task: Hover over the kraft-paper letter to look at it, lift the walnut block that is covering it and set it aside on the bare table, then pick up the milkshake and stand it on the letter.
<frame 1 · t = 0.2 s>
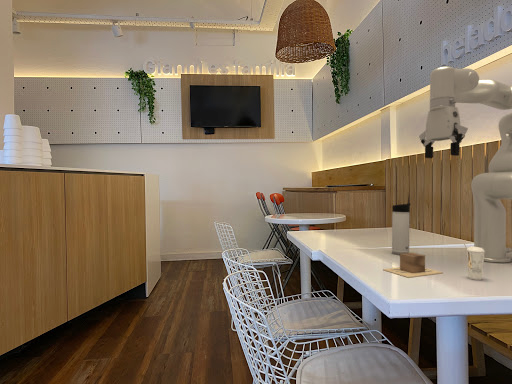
hand: (441, 156, 113), 36 cm above the table, tool pointing down, fingers open, 9 cm apart
travel mug: (401, 254, 133), on the table
milkshake: (473, 279, 96), on the table
walnut block: (412, 270, 104), resting on letter
letter: (412, 271, 104), on the table
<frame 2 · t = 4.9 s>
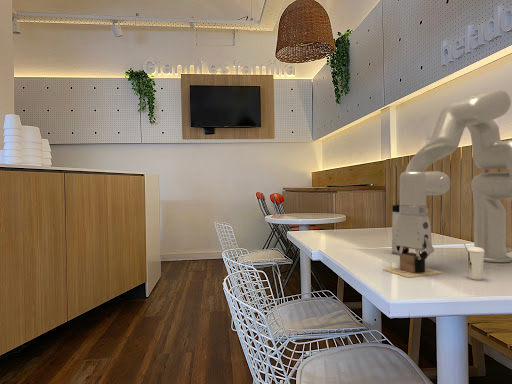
hand: (412, 269, 104), 1 cm above the table, tool pointing down, fingers closed on walnut block, 5 cm apart
walnut block: (412, 270, 104), resting on letter, touching gripper
everything else where it was.
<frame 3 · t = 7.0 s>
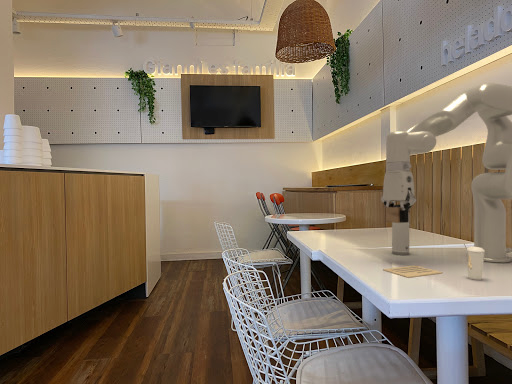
hand: (397, 220, 115), 15 cm above the table, tool pointing down, fingers closed on walnut block, 5 cm apart
walnut block: (397, 221, 115), point 14 cm above the table, touching gripper
everything else where it was.
when the fingers open (2 cm above the table, at t = 9.3 s): walnut block drops 1 cm, on the table.
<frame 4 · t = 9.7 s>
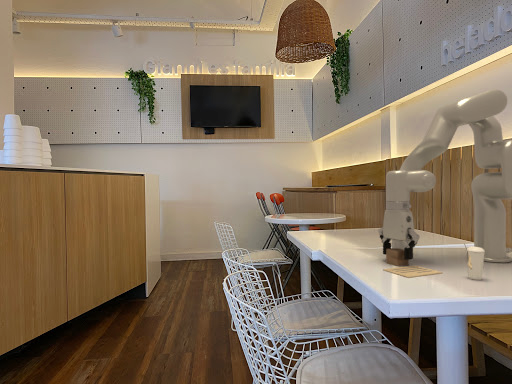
hand: (397, 256, 115), 2 cm above the table, tool pointing down, fingers open, 9 cm apart
walnut block: (397, 264, 115), on the table
everything else where it was.
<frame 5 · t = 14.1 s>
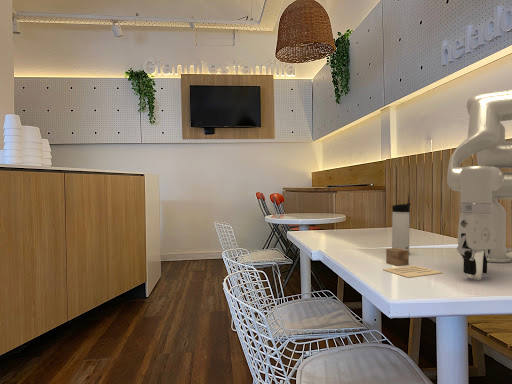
hand: (475, 272, 96), 2 cm above the table, tool pointing down, fingers closed on milkshake, 4 cm apart
milkshake: (473, 279, 96), on the table, touching gripper
everything else where it was.
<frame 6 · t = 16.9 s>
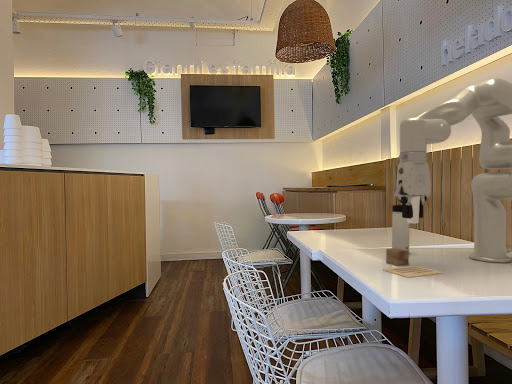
hand: (412, 217, 104), 17 cm above the table, tool pointing down, fingers closed on milkshake, 4 cm apart
milkshake: (411, 223, 104), point 15 cm above the table, touching gripper
everything else where it was.
when the fingers open (3 cm above the table, at t = 19.6 s): milkshake stays where it is, resting on letter.
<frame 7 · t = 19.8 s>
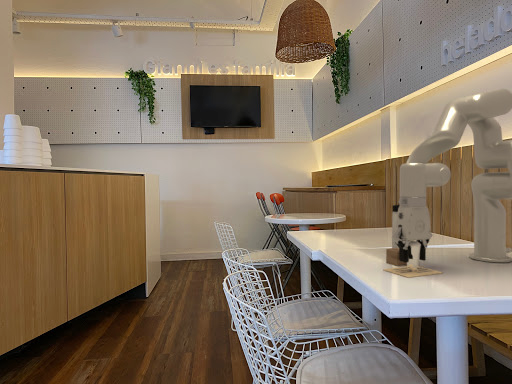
hand: (412, 260, 104), 4 cm above the table, tool pointing down, fingers open, 6 cm apart
milkshake: (411, 270, 105), resting on letter
everything else where it was.
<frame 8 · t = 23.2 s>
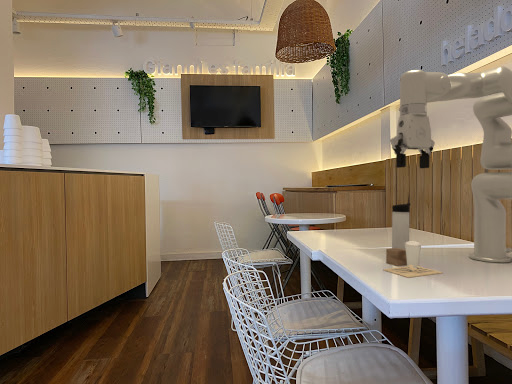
hand: (412, 167, 104), 32 cm above the table, tool pointing down, fingers open, 9 cm apart
nothing on the table moved.
at the end: milkshake inside the target area on the letter (0.3 cm from its centre), point 0.4 cm above the letter's base; milkshake tilted 0°; walnut block touching table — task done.
